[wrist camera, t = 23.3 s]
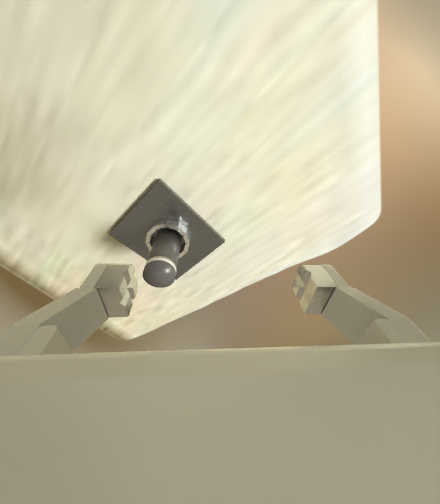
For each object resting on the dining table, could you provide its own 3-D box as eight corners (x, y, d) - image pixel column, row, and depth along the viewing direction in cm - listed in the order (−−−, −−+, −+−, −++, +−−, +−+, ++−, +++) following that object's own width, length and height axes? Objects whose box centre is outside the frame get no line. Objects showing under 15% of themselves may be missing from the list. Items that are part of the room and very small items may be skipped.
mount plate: (111, 231, 43) (105, 239, 40) (160, 178, 37) (157, 183, 35) (176, 277, 51) (175, 285, 49) (224, 239, 46) (225, 246, 43)
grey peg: (151, 238, 43) (136, 276, 33) (167, 222, 41) (155, 258, 31) (170, 252, 45) (161, 291, 36) (186, 238, 44) (181, 275, 34)
